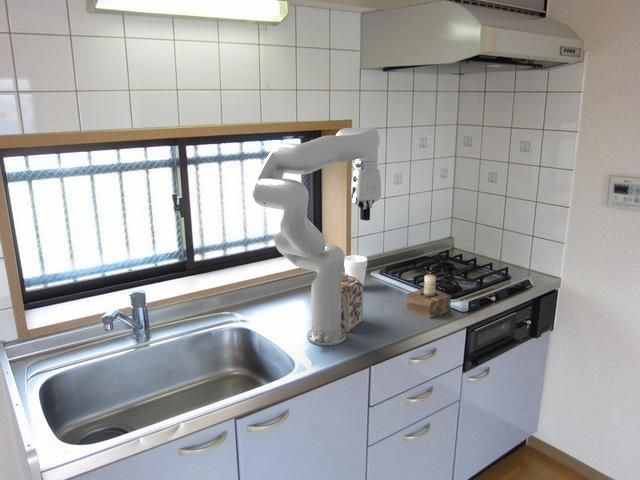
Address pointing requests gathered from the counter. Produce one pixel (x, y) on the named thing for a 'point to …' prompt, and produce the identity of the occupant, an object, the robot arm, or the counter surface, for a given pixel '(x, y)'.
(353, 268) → the foam cup
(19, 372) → the counter surface
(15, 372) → the counter surface
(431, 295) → the beech dowel
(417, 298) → the socket block
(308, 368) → the counter surface
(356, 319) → the decorative jar
